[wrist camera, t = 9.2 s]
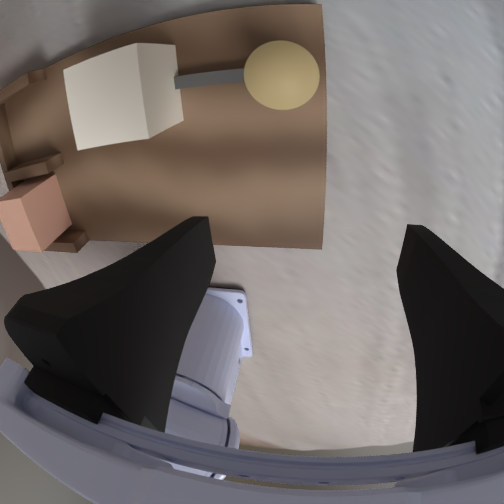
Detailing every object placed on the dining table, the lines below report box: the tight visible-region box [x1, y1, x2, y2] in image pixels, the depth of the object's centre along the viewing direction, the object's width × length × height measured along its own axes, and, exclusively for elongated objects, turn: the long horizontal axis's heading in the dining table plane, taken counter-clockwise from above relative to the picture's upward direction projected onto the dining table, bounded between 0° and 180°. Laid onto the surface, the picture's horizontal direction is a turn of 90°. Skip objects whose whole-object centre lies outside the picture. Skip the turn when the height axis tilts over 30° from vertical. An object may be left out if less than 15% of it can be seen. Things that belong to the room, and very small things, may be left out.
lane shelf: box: [0, 4, 327, 253], centre depth 18 cm, size 16×28×3 cm, turn 94°
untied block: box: [0, 174, 72, 252], centre depth 21 cm, size 5×5×4 cm
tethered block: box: [63, 40, 320, 150], centre depth 13 cm, size 5×13×5 cm, turn 94°
